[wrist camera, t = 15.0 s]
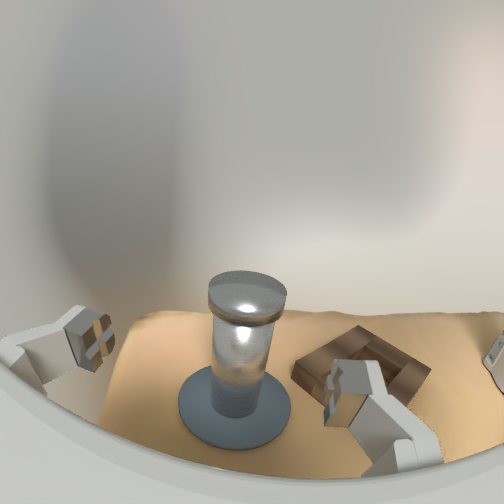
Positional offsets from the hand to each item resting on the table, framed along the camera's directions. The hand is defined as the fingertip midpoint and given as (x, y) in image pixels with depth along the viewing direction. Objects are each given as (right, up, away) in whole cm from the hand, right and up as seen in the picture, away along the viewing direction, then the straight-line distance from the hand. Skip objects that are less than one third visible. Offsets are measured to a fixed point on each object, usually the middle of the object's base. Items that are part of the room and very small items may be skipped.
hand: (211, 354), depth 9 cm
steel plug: (-1, -12, +17) cm, 21 cm away
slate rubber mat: (-1, -13, +17) cm, 22 cm away
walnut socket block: (+16, -14, +21) cm, 30 cm away
